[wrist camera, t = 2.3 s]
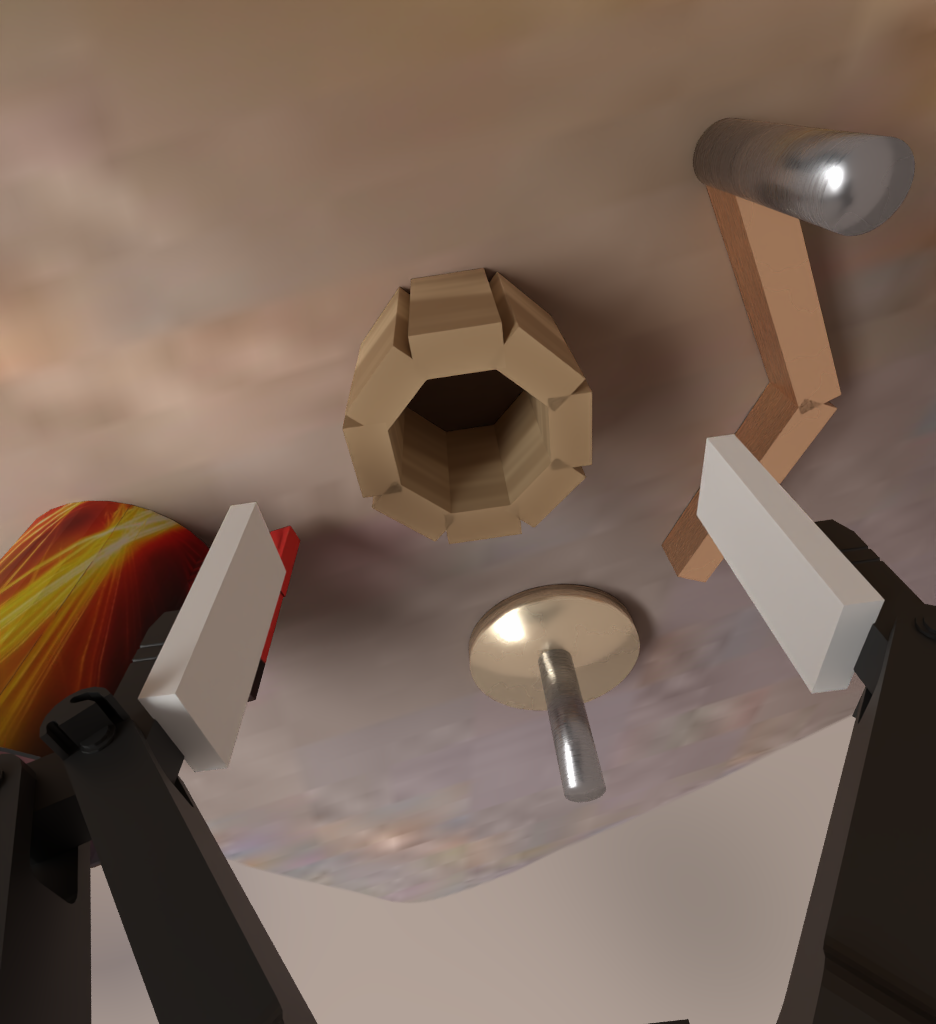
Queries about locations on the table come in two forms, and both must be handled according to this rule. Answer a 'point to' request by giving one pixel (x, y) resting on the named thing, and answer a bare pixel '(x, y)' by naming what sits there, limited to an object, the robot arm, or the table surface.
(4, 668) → the mug
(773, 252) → the bent hammer
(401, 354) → the oak ring
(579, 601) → the peg stand
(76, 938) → the robot arm
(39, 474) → the table surface
